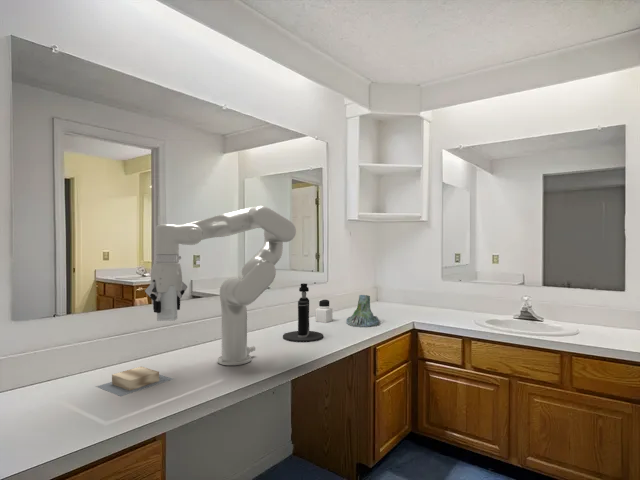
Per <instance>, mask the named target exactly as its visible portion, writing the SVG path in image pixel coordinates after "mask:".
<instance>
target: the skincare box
mask: <svg viewBox="0 0 640 480" xmlns="http://www.w3.org/2000/svg"><path fill="white" fill-rule="evenodd" d="M156 291H157V289H156ZM159 301H161V312H160V313H156V321H158V322H161V321H162V322H164V321H165V322H167V321H170V322H171V321H174V322H175V321H177V319H178V310H177V292H176V291H175V285H173V286H169V289H168V292H166V293H162V295H161V297H160V300H159Z"/></svg>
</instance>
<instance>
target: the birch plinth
mask: <svg viewBox="0 0 640 480" xmlns="http://www.w3.org/2000/svg"><path fill="white" fill-rule="evenodd" d="M159 374H160V371H158V370H154V369H151V368H147V367H145V366H138V367H134V368H131V369H127V370H123V371H119V372H116V373H112V374H111V382H112V384H113V385H116V386H119V387H121V388H124V389H127V390H133V389H136V388H139V387H143V386H146V385H149V384H152V383H155V382H158V381H159Z"/></svg>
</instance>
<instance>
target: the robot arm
mask: <svg viewBox="0 0 640 480" xmlns="http://www.w3.org/2000/svg"><path fill="white" fill-rule="evenodd" d="M255 229H261V230H264V231H263V236H264V243H263V246H262V247H261V248H260V249H259V250H258V251H257V252H256V254H254V255H253V256H252V257H251V258H250V259H249V260H248V261H247V262H246V263H245V264H244V265H243V267H242V270H241V276H242V278H240V277H239V278H238V277H230V278H227V279H225V280H224V281H223V282H222V284H221V286H220V287H219V288H220V289H219V299H220V307H221V355H220V356H219V357H217V364H220V365H223V366H240V365H245V364H248V363H250V362H251V361H252V356H251V355H250V353H252V352H255V351H256V346H254V345H253V346H248V310H247V306H249V305H251V304H253V302H255V301H256V300H257V299H258V298H259V297H260V296H261V295H262V294H263V293H264V292H265V291H266V290H267V289H268V287H270V285H271V284H272V283H273V282H274V280H275V278H276V274H277V269H276V267H275V266H276V264H278V262H279V261H280V259H281V258H282V255H283V251H284V250H283V248H284V244H283V243H288V242H290V241H293V239H294V238H295V237H296V235H297V229H296V226H295V224H294V223H293V222H292V221H291V220H289V219H288V218H286V217H284V215H281V214H280V213H279V212H276V211H275V210H274V209H272V208H270V207H268V206H265V205H257V206H250V207H246V208H241V209H239V210H234V211H230V212H225V213H221V214H217V215H214V216H212V217H208V218H205V219H201V220H196V221H192V222H188V223H184V224H175V223H174V224H172V223H161V224H158V225H156V227H155V263H153V264H152V267H151V268H152V269H151V274H150V281H149V282H150V283H149V285H148V287H147V288H146V289H145V290H144V292H145V293H146V295H148V297H149V299H151V301H152V302H153V305H152V307H153V308H152V309H153V312H154V313H156V314H157V313H160V312H161V301H159V300H160V297H161V295H162V293H166V292H168V289H169V286H173V285H175V291H176V292H177V311H179V310H181V299H182V297H183V295H184V294H185V291H186V290H187V288H188V285H187V284H186V283H184V281H183V272H182V267H181V263H180V262H179V261H181V259H182V257H181V255H180V251H179V250H180V245H182V246H195V245H197V244H199V243H201V241H203V240H208V239H212V238H214V239H215V238H225V237H230V236H232V235H237V234H241V233H245V232H247V231H250V230H255ZM156 289H157V291H156Z"/></svg>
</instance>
